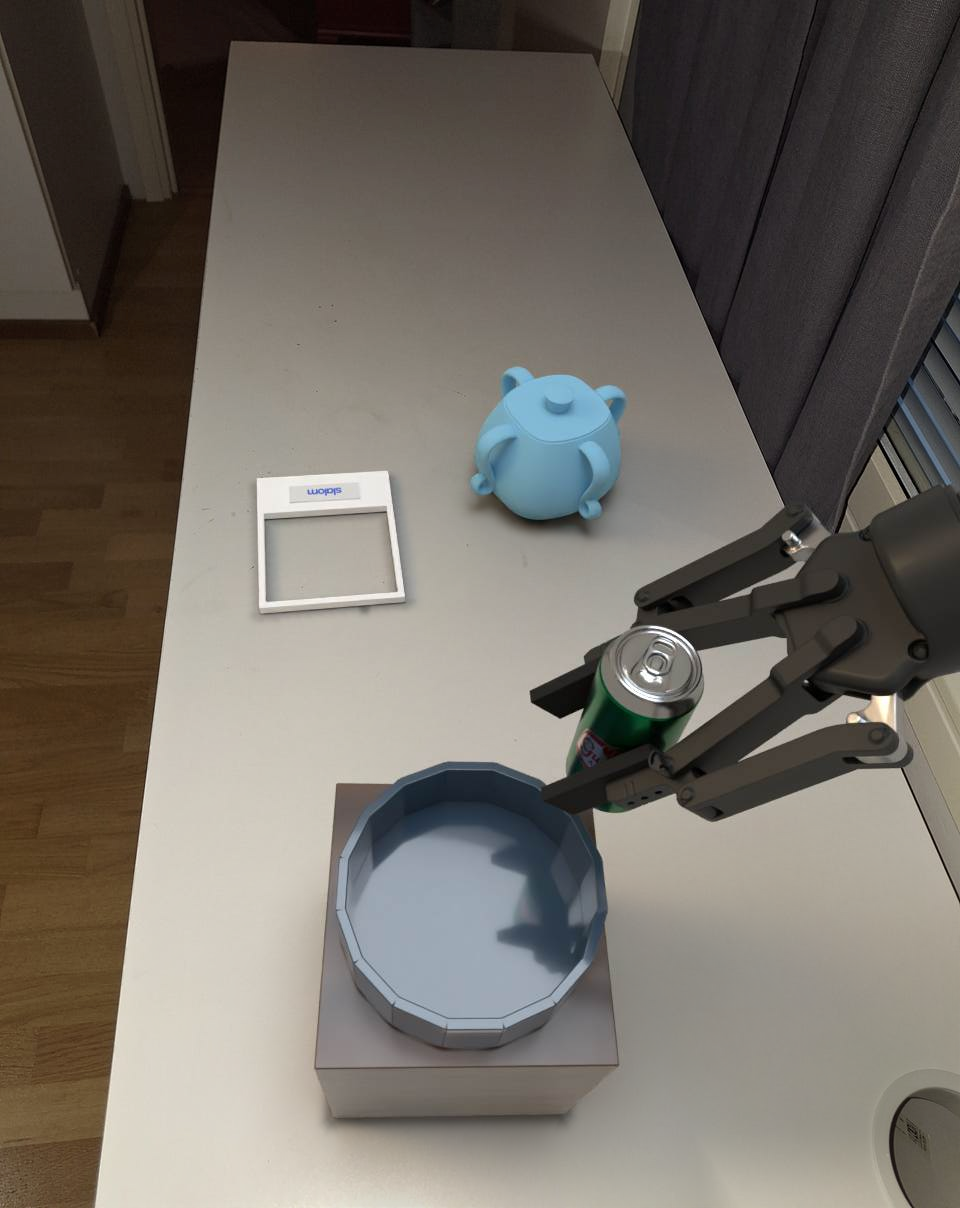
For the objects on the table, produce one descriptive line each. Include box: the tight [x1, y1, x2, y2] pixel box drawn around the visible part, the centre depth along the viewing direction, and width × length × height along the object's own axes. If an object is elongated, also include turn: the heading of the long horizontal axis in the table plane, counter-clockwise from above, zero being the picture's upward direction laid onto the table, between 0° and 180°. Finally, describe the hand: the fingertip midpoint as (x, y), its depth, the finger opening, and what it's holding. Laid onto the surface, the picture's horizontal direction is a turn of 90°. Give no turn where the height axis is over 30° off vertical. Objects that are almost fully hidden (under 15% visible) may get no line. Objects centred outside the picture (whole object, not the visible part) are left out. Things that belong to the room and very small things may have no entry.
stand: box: [313, 782, 620, 1119], centre depth 63 cm, size 17×17×20 cm
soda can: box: [565, 625, 705, 814], centre depth 47 cm, size 5×5×12 cm
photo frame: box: [256, 470, 406, 614], centre depth 97 cm, size 15×1×18 cm
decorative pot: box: [469, 366, 627, 521], centre depth 100 cm, size 16×16×14 cm
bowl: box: [335, 760, 609, 1049], centre depth 53 cm, size 15×15×5 cm
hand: (551, 751), depth 49 cm, fingers closed on soda can, 5 cm apart
